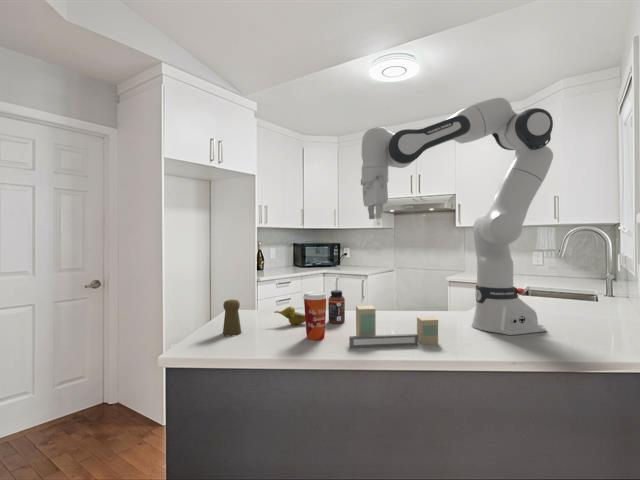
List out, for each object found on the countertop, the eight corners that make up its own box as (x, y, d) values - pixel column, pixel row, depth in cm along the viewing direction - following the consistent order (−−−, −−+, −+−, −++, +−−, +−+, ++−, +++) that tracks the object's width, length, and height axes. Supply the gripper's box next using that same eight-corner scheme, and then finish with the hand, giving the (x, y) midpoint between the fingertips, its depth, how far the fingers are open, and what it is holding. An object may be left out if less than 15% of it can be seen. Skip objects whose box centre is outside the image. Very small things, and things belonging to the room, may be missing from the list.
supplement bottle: (343, 324, 132) (343, 292, 132) (327, 323, 133) (326, 292, 133) (345, 320, 138) (345, 289, 138) (330, 319, 139) (329, 289, 139)
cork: (245, 331, 124) (244, 299, 124) (233, 336, 119) (233, 302, 118) (230, 329, 127) (229, 297, 126) (218, 334, 121) (218, 301, 121)
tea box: (432, 339, 114) (432, 316, 114) (438, 343, 110) (438, 320, 110) (417, 339, 114) (417, 317, 113) (421, 344, 110) (421, 320, 109)
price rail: (416, 343, 110) (416, 333, 110) (418, 345, 108) (418, 335, 108) (349, 346, 108) (349, 336, 108) (350, 348, 107) (350, 337, 107)
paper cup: (309, 342, 112) (309, 296, 111) (299, 336, 119) (298, 292, 118) (332, 338, 115) (332, 293, 115) (321, 332, 122) (320, 290, 122)
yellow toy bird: (274, 324, 134) (273, 306, 133) (315, 322, 136) (315, 304, 135) (274, 327, 129) (274, 308, 129) (317, 325, 131) (317, 306, 131)
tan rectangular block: (356, 337, 117) (355, 305, 116) (371, 336, 117) (371, 305, 117) (359, 342, 112) (359, 309, 111) (375, 341, 112) (375, 308, 112)
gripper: (392, 173, 115) (392, 218, 115) (377, 181, 135) (377, 219, 136) (372, 173, 114) (372, 218, 115) (359, 181, 135) (360, 219, 135)
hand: (375, 219), depth 125 cm, fingers open, 8 cm apart
